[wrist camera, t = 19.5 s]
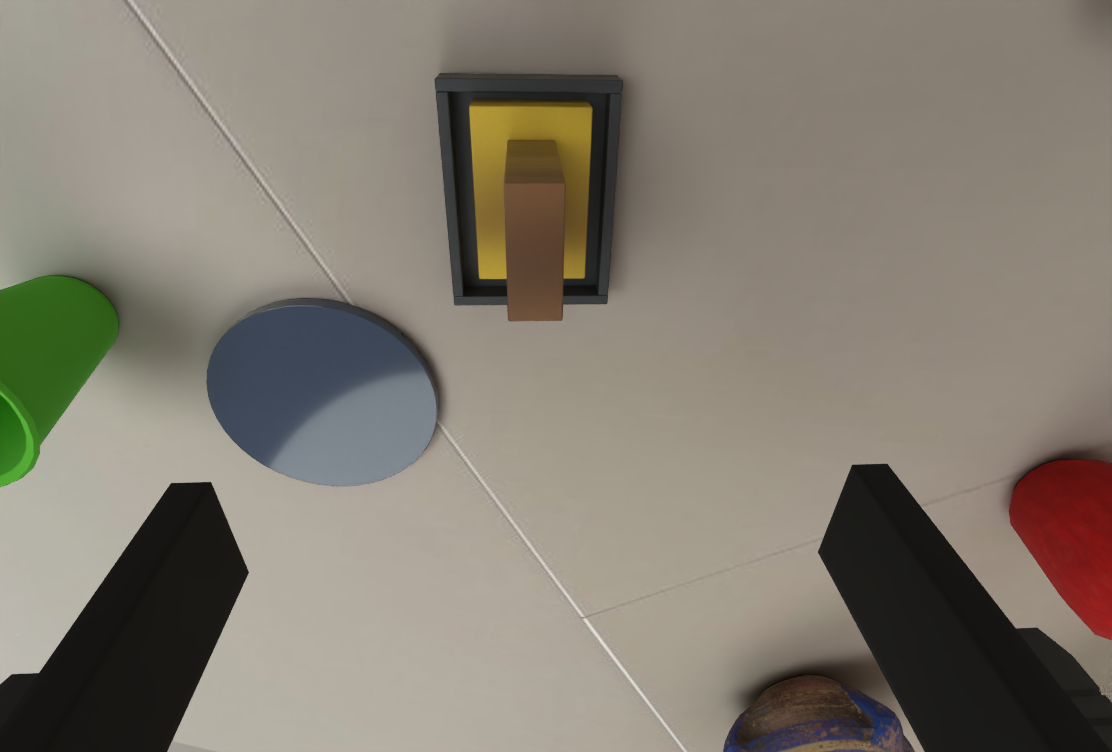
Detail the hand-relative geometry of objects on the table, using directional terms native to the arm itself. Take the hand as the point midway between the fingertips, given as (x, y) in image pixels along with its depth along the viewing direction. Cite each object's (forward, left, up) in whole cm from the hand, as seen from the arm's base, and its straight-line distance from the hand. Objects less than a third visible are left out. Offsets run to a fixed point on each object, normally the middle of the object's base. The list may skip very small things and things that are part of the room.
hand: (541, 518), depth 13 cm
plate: (+14, -14, -25) cm, 32 cm away
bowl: (+56, +29, -25) cm, 68 cm away
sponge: (0, 0, -25) cm, 25 cm away
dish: (0, 0, -25) cm, 25 cm away
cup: (+8, -28, -25) cm, 38 cm away
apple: (+24, +43, -25) cm, 56 cm away
